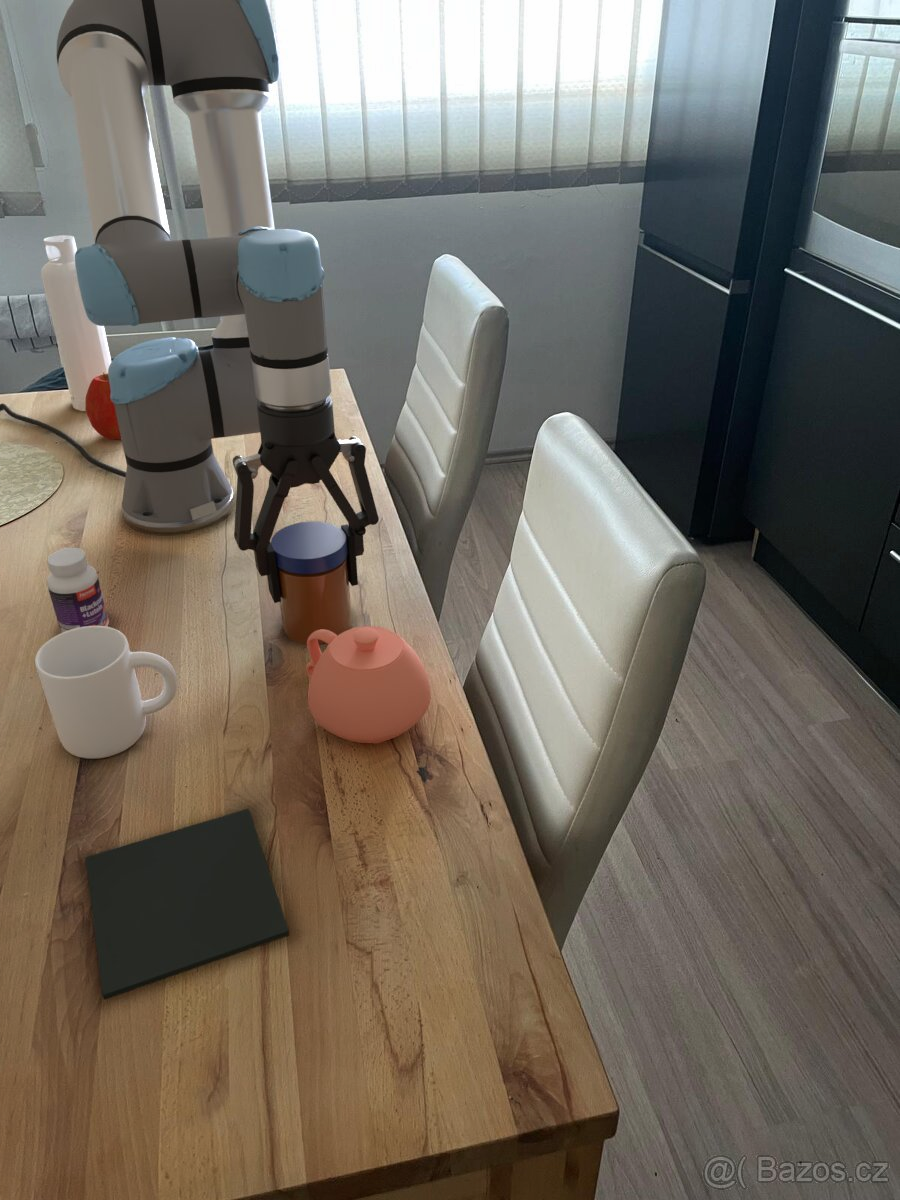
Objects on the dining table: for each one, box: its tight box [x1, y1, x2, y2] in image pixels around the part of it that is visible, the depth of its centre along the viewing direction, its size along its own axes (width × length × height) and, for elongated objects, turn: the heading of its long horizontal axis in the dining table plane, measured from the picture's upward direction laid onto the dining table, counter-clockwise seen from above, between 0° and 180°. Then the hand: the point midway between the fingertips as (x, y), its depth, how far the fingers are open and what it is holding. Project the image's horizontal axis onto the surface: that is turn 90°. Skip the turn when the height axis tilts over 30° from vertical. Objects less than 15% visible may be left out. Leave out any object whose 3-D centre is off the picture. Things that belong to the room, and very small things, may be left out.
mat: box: [85, 808, 290, 1000], centre depth 75 cm, size 14×14×1 cm
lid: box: [270, 520, 348, 574], centre depth 101 cm, size 8×8×2 cm
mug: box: [34, 626, 179, 760], centre depth 89 cm, size 12×8×10 cm
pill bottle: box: [46, 547, 110, 634], centre depth 104 cm, size 5×5×10 cm
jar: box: [277, 557, 353, 645], centre depth 104 cm, size 8×8×10 cm
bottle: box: [40, 234, 112, 412], centre depth 157 cm, size 8×8×28 cm
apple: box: [85, 372, 121, 440], centre depth 150 cm, size 8×8×11 cm
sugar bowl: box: [305, 625, 432, 744], centre depth 91 cm, size 12×14×10 cm
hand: (313, 587), depth 104 cm, fingers closed on lid, 8 cm apart
